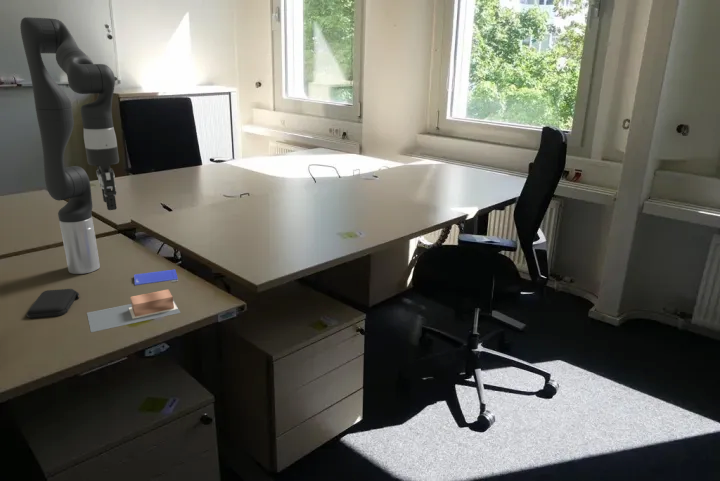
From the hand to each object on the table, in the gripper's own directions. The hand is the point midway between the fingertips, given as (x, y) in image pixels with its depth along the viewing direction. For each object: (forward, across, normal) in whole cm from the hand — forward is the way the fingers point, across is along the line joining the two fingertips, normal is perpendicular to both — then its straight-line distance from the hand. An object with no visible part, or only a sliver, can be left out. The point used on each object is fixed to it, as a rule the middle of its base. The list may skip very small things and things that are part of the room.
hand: (110, 205), depth 143 cm
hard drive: (+29, +11, -11) cm, 33 cm away
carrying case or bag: (+29, +4, +17) cm, 34 cm away
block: (+27, -11, -6) cm, 30 cm away
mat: (+28, -11, -1) cm, 30 cm away
